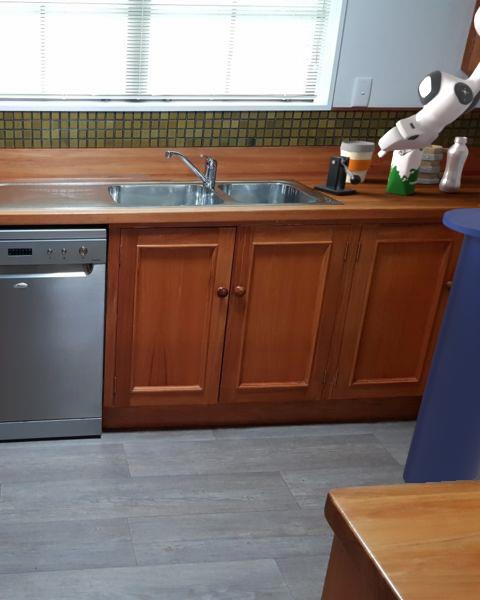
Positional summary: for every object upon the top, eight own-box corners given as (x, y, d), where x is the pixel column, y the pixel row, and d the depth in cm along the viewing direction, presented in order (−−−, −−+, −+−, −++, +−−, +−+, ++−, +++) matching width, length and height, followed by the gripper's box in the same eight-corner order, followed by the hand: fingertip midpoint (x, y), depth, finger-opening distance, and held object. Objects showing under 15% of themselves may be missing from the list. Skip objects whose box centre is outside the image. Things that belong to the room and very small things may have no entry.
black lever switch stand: (356, 193, 223) (362, 158, 219) (337, 195, 220) (343, 159, 215) (331, 187, 234) (337, 153, 229) (313, 189, 230) (318, 154, 225)
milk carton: (407, 196, 219) (419, 139, 212) (382, 192, 226) (393, 137, 218) (417, 193, 225) (429, 137, 217) (392, 189, 231) (403, 135, 224)
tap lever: (359, 186, 218) (365, 178, 216) (351, 187, 217) (357, 179, 214) (338, 162, 225) (343, 155, 223) (331, 163, 224) (336, 155, 221)
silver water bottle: (442, 189, 231) (454, 135, 224) (461, 192, 226) (475, 137, 219) (434, 191, 227) (447, 137, 220) (454, 194, 223) (468, 139, 215)
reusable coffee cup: (328, 178, 251) (334, 141, 245) (356, 177, 253) (363, 140, 247) (346, 184, 239) (353, 145, 233) (375, 183, 241) (382, 144, 236)
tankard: (404, 182, 243) (412, 144, 238) (401, 177, 254) (409, 140, 248) (461, 186, 236) (470, 147, 231) (456, 181, 247) (465, 143, 241)
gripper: (440, 118, 195) (408, 145, 207) (395, 120, 188) (364, 148, 200) (450, 134, 193) (416, 161, 205) (404, 136, 186) (372, 164, 197)
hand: (390, 154), depth 202 cm, fingers open, 8 cm apart
